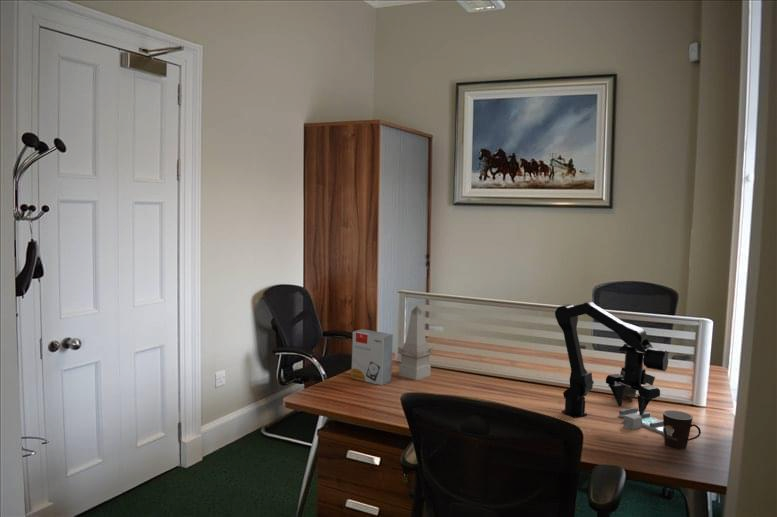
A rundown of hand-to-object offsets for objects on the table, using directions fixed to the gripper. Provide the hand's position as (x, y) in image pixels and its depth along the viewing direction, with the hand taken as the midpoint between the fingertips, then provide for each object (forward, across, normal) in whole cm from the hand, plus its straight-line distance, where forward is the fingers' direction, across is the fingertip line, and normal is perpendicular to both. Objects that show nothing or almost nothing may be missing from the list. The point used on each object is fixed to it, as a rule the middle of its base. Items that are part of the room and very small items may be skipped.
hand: (630, 410), depth 219 cm
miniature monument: (+7, +82, +38) cm, 90 cm away
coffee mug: (+6, -19, -1) cm, 20 cm away
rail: (+6, 0, -10) cm, 11 cm away
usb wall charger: (+6, 0, 0) cm, 6 cm away
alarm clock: (+6, +24, -24) cm, 34 cm away
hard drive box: (+7, +82, +58) cm, 101 cm away
